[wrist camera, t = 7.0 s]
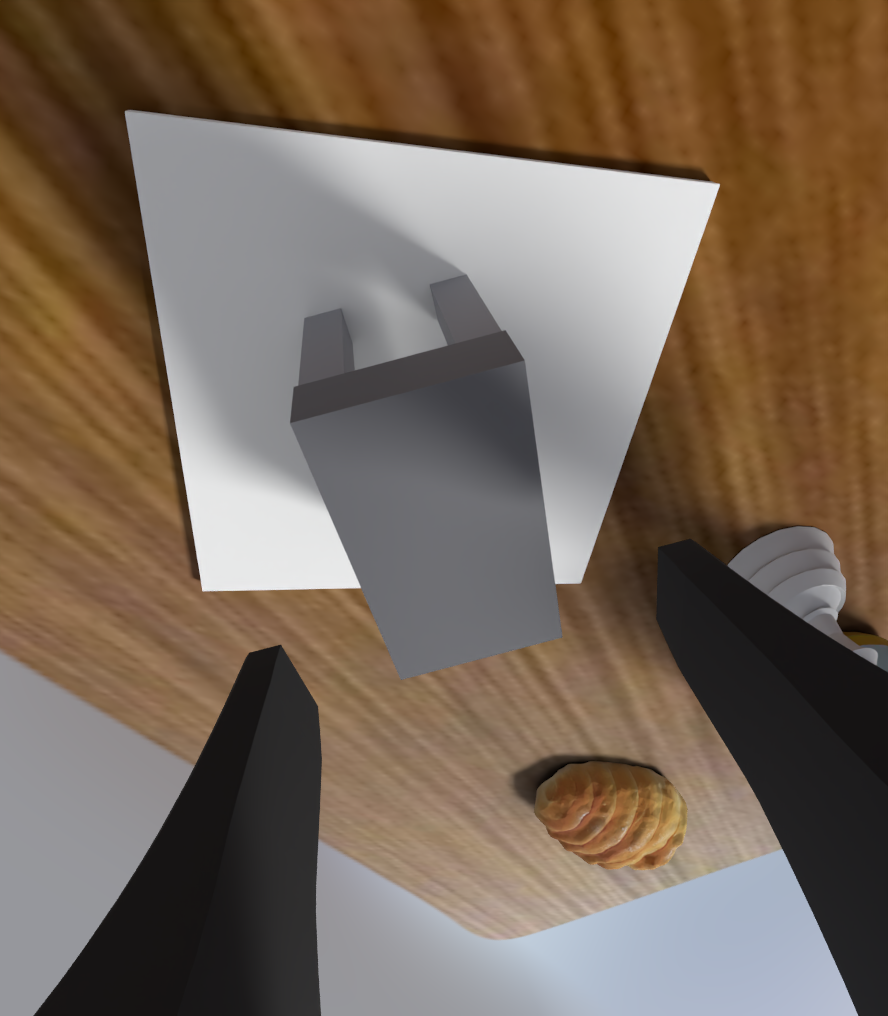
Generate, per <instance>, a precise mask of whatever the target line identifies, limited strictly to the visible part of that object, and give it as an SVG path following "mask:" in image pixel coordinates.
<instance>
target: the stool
mask: <svg viewBox="0 0 888 1016" xmlns="http://www.w3.org/2000/svg"><path fill="white" fill-rule="evenodd" d="M430 288H431V293H432V297H433V302H434V306H435V310H436V315H437V319H438V322H439V325H440V327H441V330H442V332H443V335H444V337H445V340H446V342H447V345H448V346H444V347H441V348H437V349H433V350H429V351H426V352H422V353H418V354H414V355H411V356H407V357H403V358H399V359H396V360H392V361H388V362H385V363H381V364H377V365H373V366H370V367H366V368H362V369H358V370H355V366H354V354H353V343H352V340H351V337H350V334H349V331H348V328H347V325H346V322H345V319H344V316H343V312H342V309H341V308H340V309H336V310H332V311H329V312H325V313H321V314H317V315H314V316H310V317H306V318H304V327H303V338H302V349H301V360H300V371H299V382H298V386H295V387H294V389H293V398H292V408H291V418H290V425H291V427H292V429H293V432H294V434H295V436H296V438H297V441H298V443H299V445H300V448H301V450H302V452H303V455H304V457H305V459H306V462H307V464H308V466H309V469H310V471H311V473H312V475H313V478H314V480H315V482H316V485H317V487H318V489H319V492H320V494H321V496H322V499H323V501H324V503H325V505H326V508H327V510H328V512H329V515H330V517H331V519H332V522H333V524H334V526H335V529H336V531H337V533H338V536H339V538H340V540H341V542H342V545H343V547H344V549H345V552H346V554H347V556H348V559H349V561H350V563H351V566H352V568H353V570H354V573H355V575H356V577H357V579H358V582H359V584H360V586H361V589H362V591H363V593H364V596H365V598H366V600H367V603H368V605H369V607H370V609H371V612H372V614H373V616H374V619H375V621H376V623H377V626H378V628H379V630H380V633H381V635H382V637H383V640H384V642H385V644H386V646H387V649H388V651H389V653H390V656H391V658H392V660H393V663H394V665H395V667H396V670H397V672H398V674H399V677H400V679H401V680H402V679H406V678H410V677H414V676H417V675H421V674H425V673H429V672H433V671H436V670H440V669H444V668H448V667H452V666H455V665H459V664H463V663H467V662H471V661H474V660H478V659H482V658H486V657H490V656H493V655H497V654H501V653H505V652H509V651H512V650H516V649H520V648H524V647H528V646H531V645H535V644H539V643H543V642H547V641H550V640H554V639H558V638H562V630H561V623H560V616H559V608H558V601H557V594H556V586H555V579H554V571H553V564H552V557H551V549H550V542H549V535H548V527H547V520H546V512H545V505H544V498H543V490H542V483H541V476H540V468H539V461H538V453H537V446H536V439H535V431H534V424H533V417H532V409H531V402H530V394H529V387H528V380H527V372H526V365H525V360H524V358H523V357H522V355H521V354H520V352H519V350H518V349H517V347H516V346H515V344H514V343H513V341H512V339H511V338H510V336H509V335H508V333H507V332H506V330H504V331H501V329H500V327H499V326H498V324H497V323H496V321H495V319H494V318H493V316H492V314H491V313H490V311H489V310H488V308H487V306H486V305H485V303H484V302H483V300H482V298H481V297H480V295H479V294H478V292H477V290H476V289H475V287H474V285H473V284H472V282H471V281H470V279H469V277H468V276H467V274H466V275H462V276H459V277H455V278H451V279H448V280H444V281H440V282H436V283H433V284H430Z"/></svg>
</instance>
